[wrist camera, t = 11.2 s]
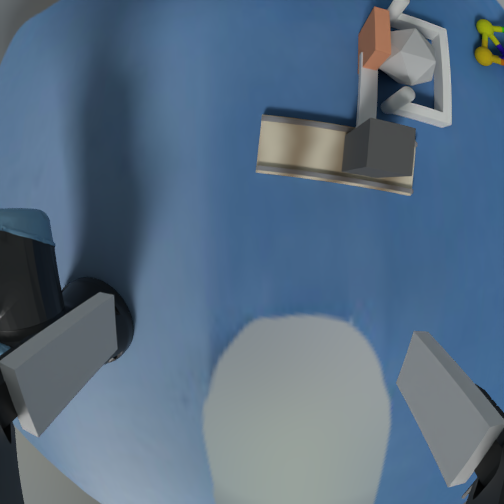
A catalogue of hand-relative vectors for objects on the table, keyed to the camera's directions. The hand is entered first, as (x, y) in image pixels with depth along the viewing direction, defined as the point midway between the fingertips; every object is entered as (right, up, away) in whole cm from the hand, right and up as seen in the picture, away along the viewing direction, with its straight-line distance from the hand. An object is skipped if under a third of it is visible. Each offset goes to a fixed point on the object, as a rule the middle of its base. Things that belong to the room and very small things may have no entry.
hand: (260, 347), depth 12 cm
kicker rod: (+15, +25, +26) cm, 39 cm away
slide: (+12, +17, +28) cm, 35 cm away
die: (+21, +32, +24) cm, 45 cm away
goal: (+24, +31, +24) cm, 46 cm away
